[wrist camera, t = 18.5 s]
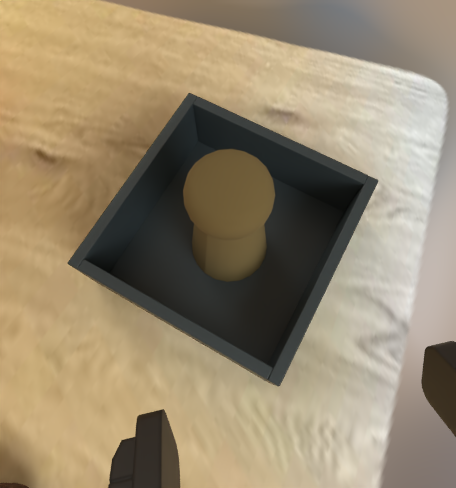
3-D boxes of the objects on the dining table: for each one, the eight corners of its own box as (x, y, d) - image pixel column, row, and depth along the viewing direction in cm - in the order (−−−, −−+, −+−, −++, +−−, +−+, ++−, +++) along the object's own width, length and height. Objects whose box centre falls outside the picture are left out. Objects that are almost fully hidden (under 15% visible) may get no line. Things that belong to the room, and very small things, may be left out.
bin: (354, 211, 32) (379, 180, 26) (270, 383, 27) (279, 387, 22) (195, 134, 34) (189, 92, 29) (95, 281, 30) (66, 263, 25)
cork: (240, 197, 31) (245, 113, 21) (281, 255, 30) (309, 195, 19) (178, 234, 30) (150, 164, 20) (217, 296, 29) (210, 256, 18)
